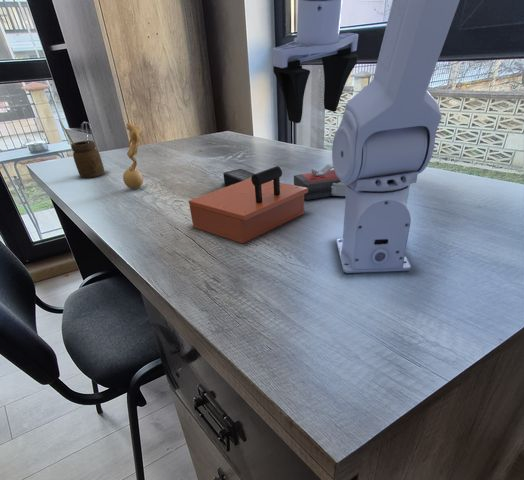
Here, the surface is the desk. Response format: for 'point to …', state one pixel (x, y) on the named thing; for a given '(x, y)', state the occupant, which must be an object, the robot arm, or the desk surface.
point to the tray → (246, 221)
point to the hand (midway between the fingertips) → (312, 115)
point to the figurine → (133, 158)
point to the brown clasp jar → (86, 157)
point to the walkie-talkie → (321, 183)
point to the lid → (250, 195)
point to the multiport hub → (236, 176)
